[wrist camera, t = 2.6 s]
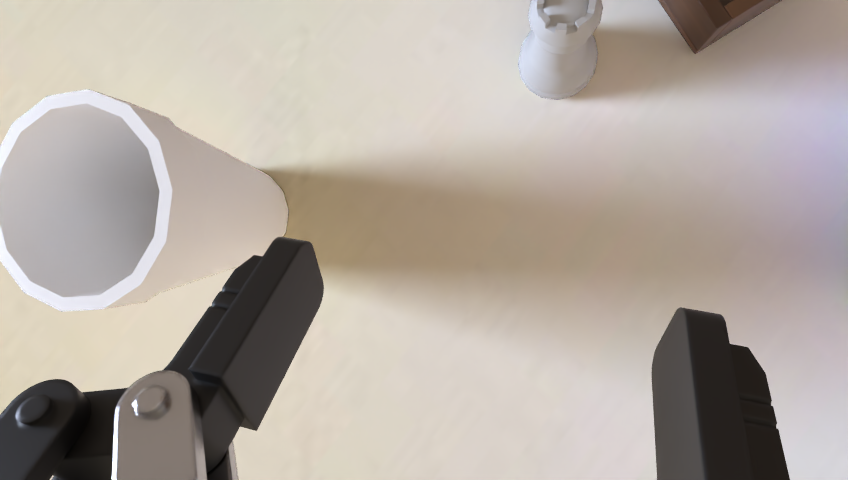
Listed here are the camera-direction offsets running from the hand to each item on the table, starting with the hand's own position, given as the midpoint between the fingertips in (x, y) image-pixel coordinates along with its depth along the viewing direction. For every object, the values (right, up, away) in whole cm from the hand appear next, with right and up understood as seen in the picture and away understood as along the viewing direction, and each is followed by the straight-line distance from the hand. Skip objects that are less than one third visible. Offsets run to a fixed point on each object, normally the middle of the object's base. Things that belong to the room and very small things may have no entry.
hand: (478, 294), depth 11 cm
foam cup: (-13, +3, +23) cm, 27 cm away
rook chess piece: (+7, +12, +19) cm, 23 cm away
